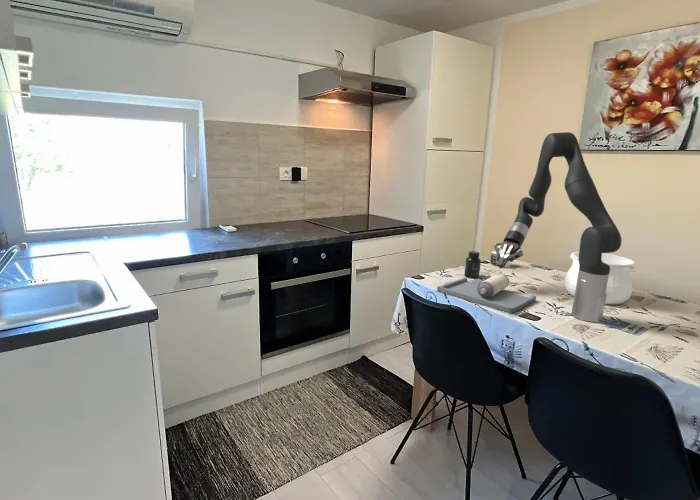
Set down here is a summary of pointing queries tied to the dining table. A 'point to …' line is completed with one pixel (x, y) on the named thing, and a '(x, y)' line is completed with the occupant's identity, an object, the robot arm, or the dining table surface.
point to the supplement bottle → (472, 265)
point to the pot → (617, 280)
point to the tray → (498, 301)
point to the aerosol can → (493, 285)
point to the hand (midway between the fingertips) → (500, 266)
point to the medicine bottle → (497, 259)
